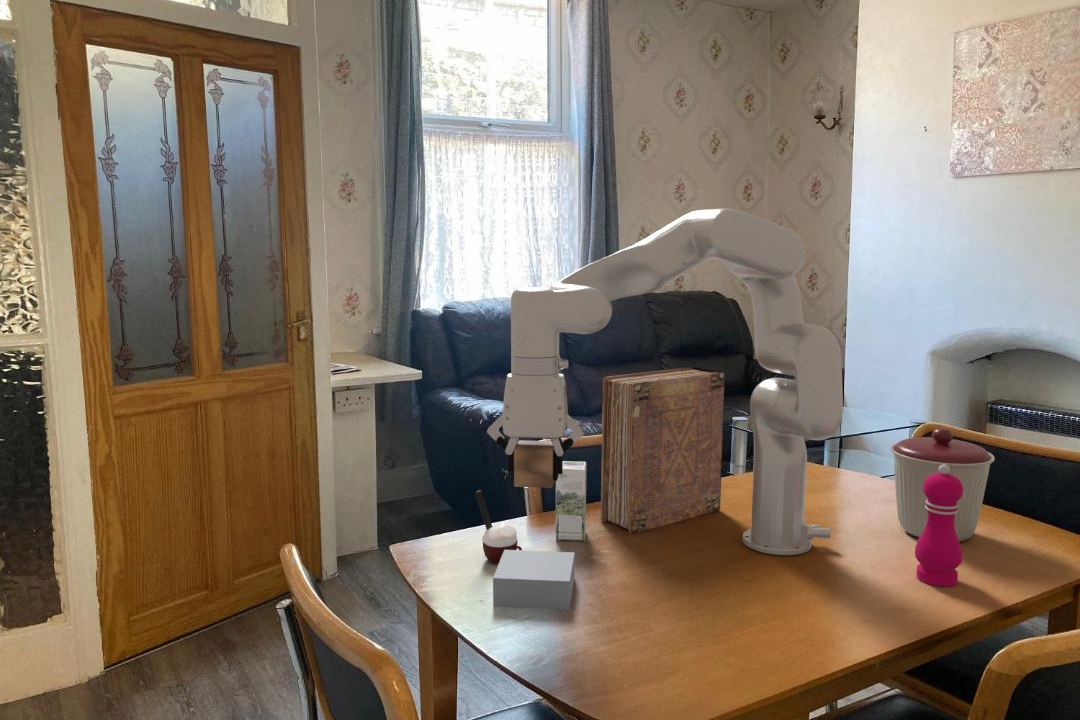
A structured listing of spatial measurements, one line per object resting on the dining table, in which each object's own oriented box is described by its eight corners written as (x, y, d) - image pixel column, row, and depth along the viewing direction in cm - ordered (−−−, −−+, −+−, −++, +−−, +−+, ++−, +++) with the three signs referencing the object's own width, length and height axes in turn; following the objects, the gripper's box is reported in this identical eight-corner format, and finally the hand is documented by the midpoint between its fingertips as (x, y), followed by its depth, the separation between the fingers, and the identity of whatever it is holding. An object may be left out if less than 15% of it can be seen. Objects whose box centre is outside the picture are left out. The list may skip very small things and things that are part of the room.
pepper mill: (941, 591, 133) (950, 472, 130) (903, 575, 139) (911, 462, 136) (970, 583, 136) (978, 467, 133) (931, 568, 143) (939, 457, 140)
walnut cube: (555, 477, 133) (555, 441, 132) (552, 487, 127) (552, 450, 126) (519, 475, 134) (519, 440, 133) (514, 486, 128) (513, 449, 127)
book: (629, 534, 159) (631, 383, 155) (600, 521, 167) (601, 377, 163) (720, 510, 173) (725, 371, 169) (689, 499, 181) (693, 366, 177)
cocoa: (527, 565, 145) (530, 501, 143) (497, 572, 141) (500, 506, 139) (498, 547, 153) (501, 486, 151) (469, 553, 149) (472, 490, 147)
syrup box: (586, 531, 161) (586, 460, 159) (585, 542, 155) (585, 468, 153) (557, 530, 161) (557, 459, 159) (555, 541, 156) (555, 467, 154)
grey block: (574, 580, 138) (574, 552, 138) (569, 611, 127) (569, 581, 126) (504, 577, 140) (504, 549, 139) (493, 608, 128) (492, 578, 127)
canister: (886, 542, 155) (892, 434, 152) (884, 513, 171) (890, 415, 168) (994, 556, 148) (1003, 443, 145) (981, 524, 164) (989, 422, 161)
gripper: (591, 364, 131) (590, 472, 133) (485, 362, 133) (486, 469, 135) (588, 371, 123) (587, 486, 126) (476, 369, 125) (477, 482, 128)
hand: (535, 476), depth 130 cm, fingers closed on walnut cube, 6 cm apart
